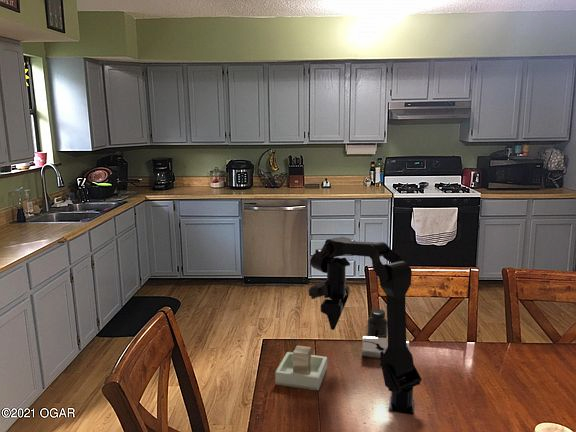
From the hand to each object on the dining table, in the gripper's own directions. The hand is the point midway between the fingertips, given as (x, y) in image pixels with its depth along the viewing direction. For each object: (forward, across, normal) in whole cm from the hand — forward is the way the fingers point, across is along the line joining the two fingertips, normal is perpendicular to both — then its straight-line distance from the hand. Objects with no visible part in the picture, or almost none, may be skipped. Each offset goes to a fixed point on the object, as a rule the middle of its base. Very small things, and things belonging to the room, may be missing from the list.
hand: (335, 323), depth 154 cm
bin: (+13, +12, -8) cm, 19 cm away
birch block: (+12, +12, -8) cm, 19 cm away
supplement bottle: (+13, -16, +12) cm, 24 cm away
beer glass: (+10, -8, +23) cm, 26 cm away
